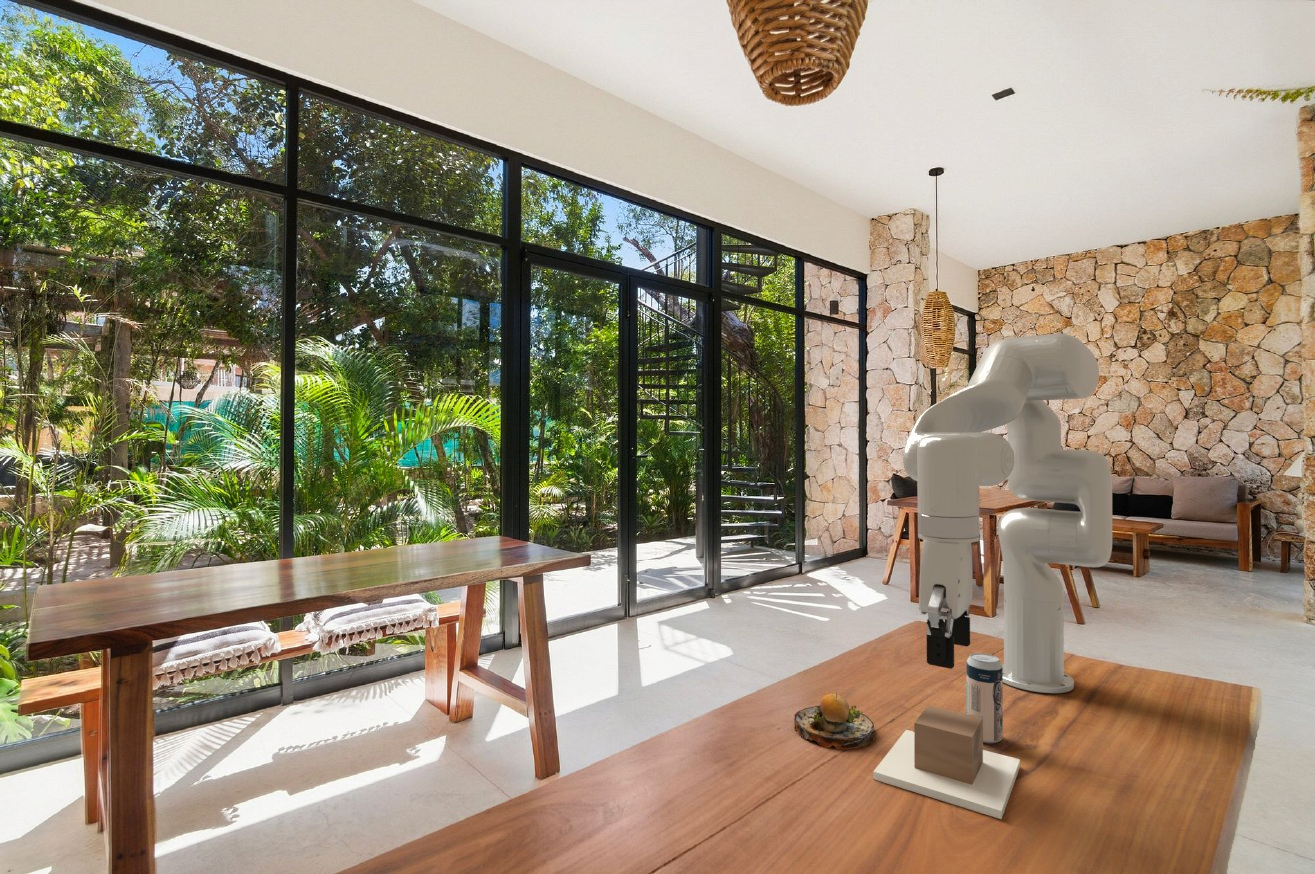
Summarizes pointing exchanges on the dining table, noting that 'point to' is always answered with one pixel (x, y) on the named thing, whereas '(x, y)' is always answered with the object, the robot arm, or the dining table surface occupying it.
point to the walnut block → (948, 744)
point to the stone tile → (980, 796)
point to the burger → (835, 724)
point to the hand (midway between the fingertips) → (949, 654)
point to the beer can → (986, 694)
